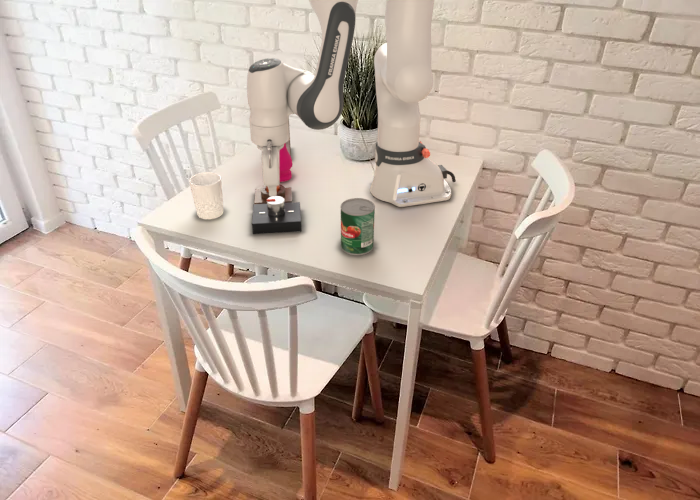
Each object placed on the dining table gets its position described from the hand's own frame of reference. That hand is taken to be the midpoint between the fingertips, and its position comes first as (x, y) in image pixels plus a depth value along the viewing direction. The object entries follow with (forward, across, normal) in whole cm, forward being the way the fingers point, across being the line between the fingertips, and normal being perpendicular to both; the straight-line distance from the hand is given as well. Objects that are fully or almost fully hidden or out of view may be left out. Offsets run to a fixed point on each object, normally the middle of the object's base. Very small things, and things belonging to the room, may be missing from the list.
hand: (273, 186), depth 137 cm
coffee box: (+11, +42, -2) cm, 43 cm away
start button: (+7, +12, +1) cm, 14 cm away
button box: (+10, +12, 0) cm, 16 cm away
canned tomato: (+10, -13, -20) cm, 26 cm away
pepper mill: (+11, +26, -2) cm, 28 cm away
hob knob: (+7, 0, 0) cm, 7 cm away
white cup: (+11, +7, +17) cm, 21 cm away
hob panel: (+10, 0, 0) cm, 11 cm away
